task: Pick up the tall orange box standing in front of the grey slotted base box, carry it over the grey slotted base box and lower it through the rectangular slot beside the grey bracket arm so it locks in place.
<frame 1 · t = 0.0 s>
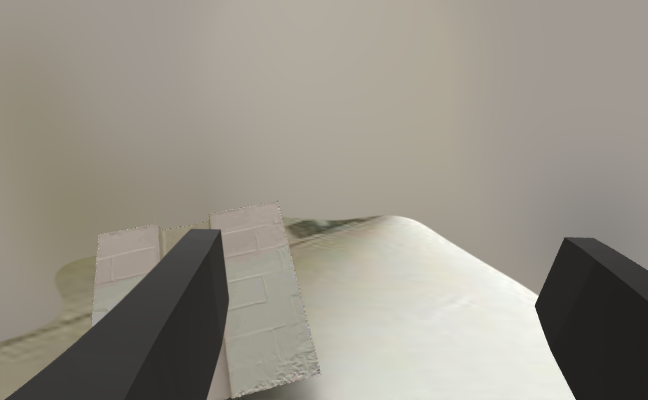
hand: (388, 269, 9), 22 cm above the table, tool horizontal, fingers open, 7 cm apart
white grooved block: (205, 347, 35), on the table
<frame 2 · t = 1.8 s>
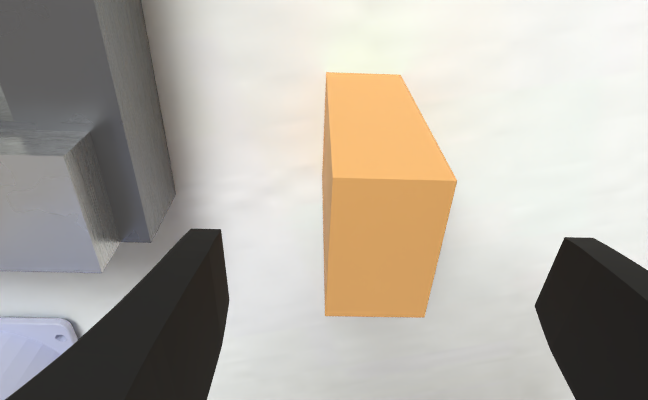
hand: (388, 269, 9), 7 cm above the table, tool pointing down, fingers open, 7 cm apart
tall orange box: (358, 128, 16), on the table
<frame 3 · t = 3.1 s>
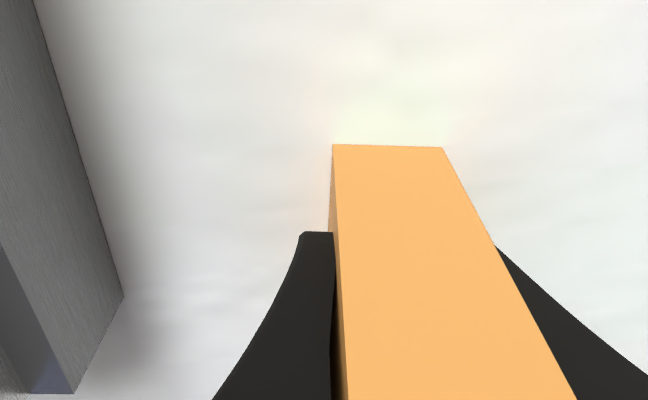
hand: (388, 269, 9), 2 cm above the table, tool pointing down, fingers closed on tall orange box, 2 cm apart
tall orange box: (378, 217, 11), on the table, touching gripper
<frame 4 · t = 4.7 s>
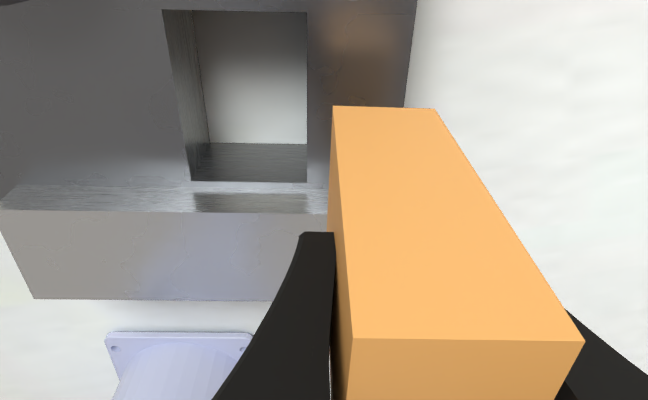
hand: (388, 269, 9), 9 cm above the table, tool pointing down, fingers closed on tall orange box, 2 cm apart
grey slotted base box: (196, 47, 15), on the table
tall orange box: (375, 178, 12), point 6 cm above the table, touching gripper
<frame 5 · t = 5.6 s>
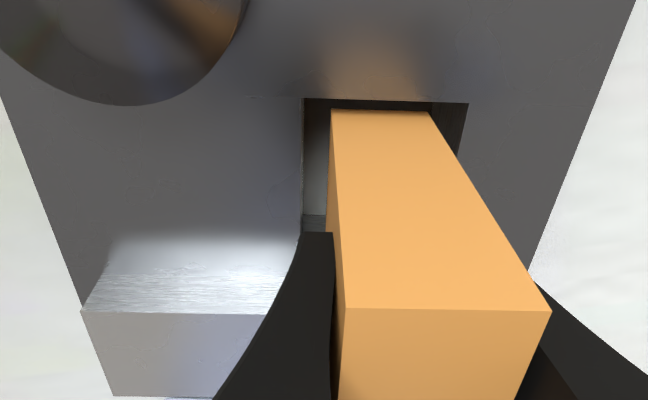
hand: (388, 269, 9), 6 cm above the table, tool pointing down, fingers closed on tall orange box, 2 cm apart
grey slotted base box: (303, 117, 14), on the table
tall orange box: (371, 177, 12), point 2 cm above the table, touching gripper
when the fingers open (4 cm above the table, at t = 6.2 s): tall orange box stays where it is, resting in grey slotted base box.
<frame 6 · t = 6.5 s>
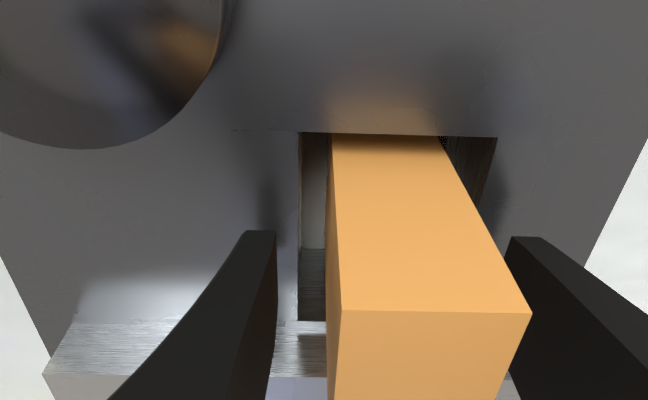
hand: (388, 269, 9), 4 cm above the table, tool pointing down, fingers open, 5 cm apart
grey slotted base box: (302, 144, 12), on the table
tall orange box: (369, 175, 13), resting in grey slotted base box
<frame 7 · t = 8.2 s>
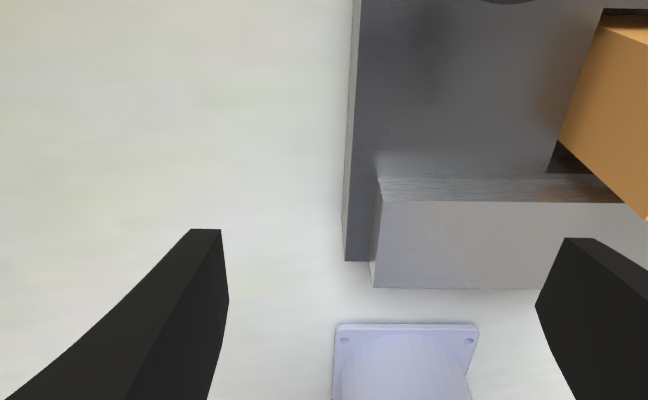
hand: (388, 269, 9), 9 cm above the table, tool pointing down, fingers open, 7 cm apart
grey slotted base box: (540, 44, 16), on the table
tall orange box: (583, 71, 16), resting in grey slotted base box
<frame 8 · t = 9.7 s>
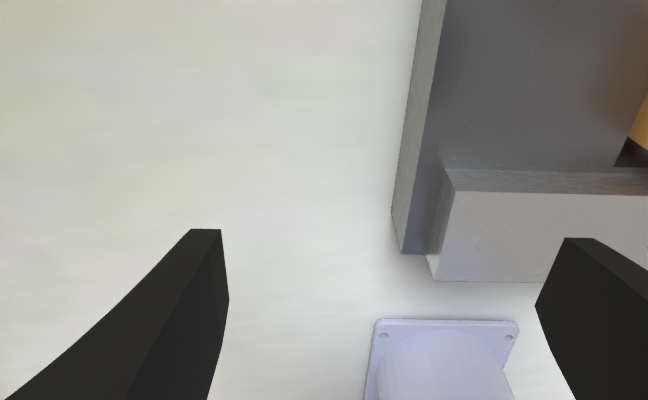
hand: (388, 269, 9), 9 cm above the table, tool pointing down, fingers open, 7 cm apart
grey slotted base box: (607, 37, 16), on the table
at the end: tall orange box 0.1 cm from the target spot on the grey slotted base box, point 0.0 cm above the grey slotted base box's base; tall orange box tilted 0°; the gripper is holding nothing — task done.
